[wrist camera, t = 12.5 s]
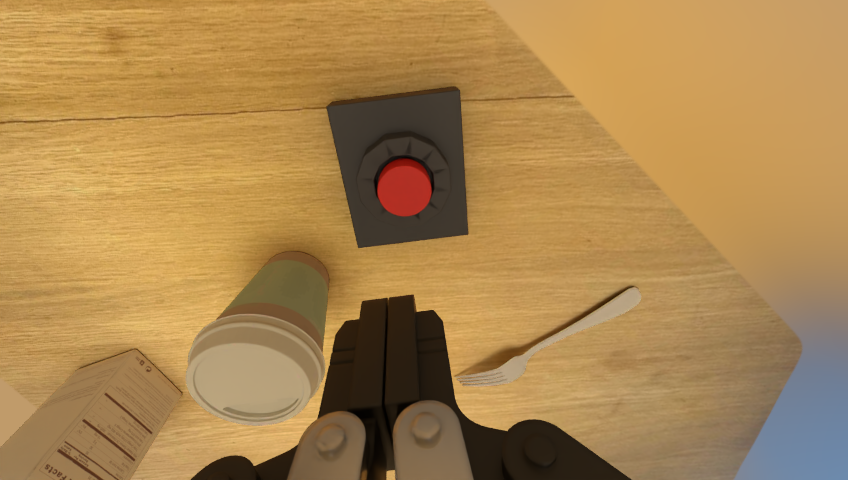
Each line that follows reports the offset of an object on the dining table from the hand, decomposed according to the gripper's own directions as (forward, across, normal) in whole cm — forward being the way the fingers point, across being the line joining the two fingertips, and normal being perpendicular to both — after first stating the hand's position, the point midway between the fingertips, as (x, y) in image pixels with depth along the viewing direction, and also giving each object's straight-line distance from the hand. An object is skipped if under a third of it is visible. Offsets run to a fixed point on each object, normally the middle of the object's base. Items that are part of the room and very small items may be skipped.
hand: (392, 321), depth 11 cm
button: (+16, 0, +2) cm, 16 cm away
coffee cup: (+20, +11, +11) cm, 25 cm away
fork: (+20, -12, +22) cm, 32 cm away
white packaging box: (+20, +31, +21) cm, 42 cm away
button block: (+20, 0, +2) cm, 20 cm away
